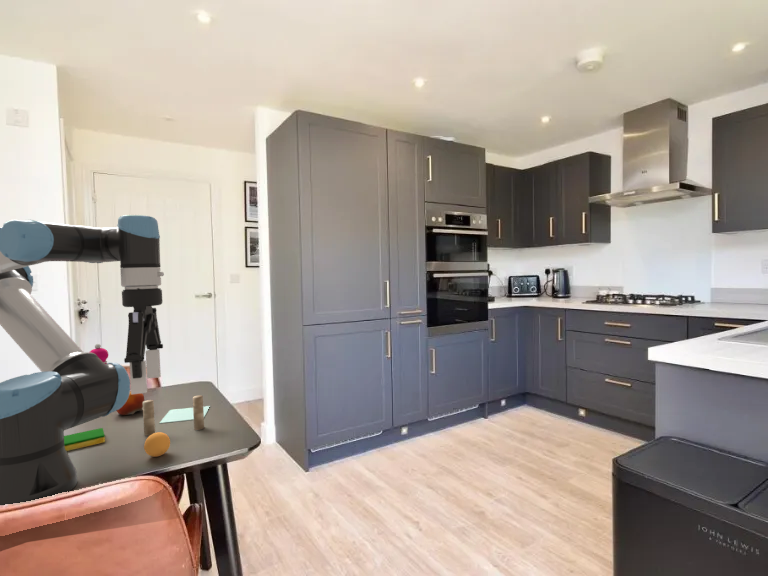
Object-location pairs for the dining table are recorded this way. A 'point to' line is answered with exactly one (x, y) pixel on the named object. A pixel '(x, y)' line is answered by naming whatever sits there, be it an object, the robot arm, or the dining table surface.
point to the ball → (157, 444)
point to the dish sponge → (84, 439)
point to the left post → (148, 417)
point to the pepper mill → (100, 353)
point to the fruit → (132, 404)
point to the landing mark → (181, 415)
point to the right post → (198, 412)
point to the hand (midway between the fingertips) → (147, 385)
